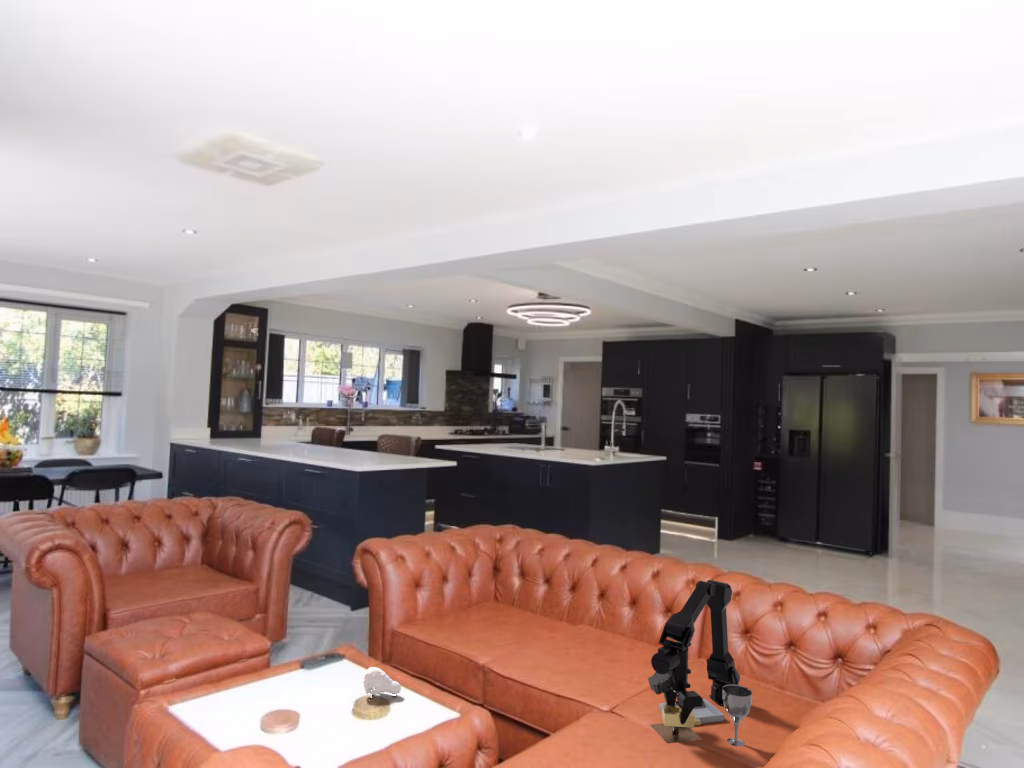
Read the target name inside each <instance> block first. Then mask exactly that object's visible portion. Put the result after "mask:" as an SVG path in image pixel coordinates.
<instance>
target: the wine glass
mask: <svg viewBox="0 0 1024 768" xmlns="http://www.w3.org/2000/svg"><path fill="white" fill-rule="evenodd" d="M722 694H723V704H724V705H723V708H724V710H725V711H726V713H727V714H728V716H729V717H730V719H731V720H732V722H733V727H734V737H731V738H728V739H726V743H728V744H729V745H731V746H733V747H736V748H737V747H738V748H739V747H744V746H745V744H746V743H745V742H744V741H743V740H742V739H740V738H738V735H739V734H738V732H739V731H738V730H739V726H740V723H741V721H742V720H743V719H745V718H746V717H747V716H748V715H749V713H750V711H751V708H752V701H753V692H752V690H751V689H750V688H748V687H746V686H743V685H742V684H741V685H734V684H730V685H725V686H724V687H723V692H722Z"/></svg>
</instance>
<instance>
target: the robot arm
mask: <svg viewBox="0 0 1024 768" xmlns="http://www.w3.org/2000/svg"><path fill="white" fill-rule="evenodd" d="M732 595H733V589H732V587H731V585H730V584H728V583H726V582H722V581H718V580H714V579H707V581H704V580H698V581H696V582H695V588H694V589H693V591H692V593H691V594H690V595H689V597H688V598H687V600H686V602H685V604H684V605H683V606H682V608H681V609H680V611H678V612H675V613H673V614H672V615H671V616H670V617H669V618H668V619H667V621H666V622H665V623H664V626H663V629H662V632H661V635H660V638H659V641H658V645H662V647H658V649H657V652H656V653H654V654H653V655H652V656H651V659H650V664H651V667H652V669H653V670H654V674H653V675H651V676H649V677H648V678H647V680H648V684H649V687H650V690H651V691H653V692H654V693H655V694H656V695H661V694H663V696H664V700H665V703H666V704H667V705H674V706H675V703H676V704H677V705H678V706H679V714H680V723H681V724H685V722H686V720H687V719H688V717H689V715H690V713H691V712H692V710H693V709H694V707H701V706H703V699H704V698H703V697H702V696H701V695H700V694H699V693H697V691H695V690H687V689H691V683H690V682H689V681H688V675H690V674H691V671H692V670H691V669H690V668H689V647H691V646H692V640H693V637H694V634H695V631H696V628H695V623H696V621H697V620H698V618H699V616H700V614H701V613H702V611H703V609H704V608H705V607H706V606H708V608H709V610H710V612H709V613H710V630H711V647H712V649H711V650H712V651H711V654H710V655H709V657H708V658H707V659H706V672H707V678H708V680H710V681H712V684H711V686H710V690H711V691H710V695H708V696H709V698H710V699H711V700H712V701H714V702H716V704H718V705H719V706H724V704H723V694H722V692H723V687H724V686H725V685H730V684H734V685H739V684H740V679H741V675H740V674H739V672H738V670H737V668H736V666H735V659H734V657H732V655H731V653H730V652H729V640H728V638H729V636H728V623H727V621H728V620H727V607H728V606H729V605H730V603H731V602H732ZM667 638H668V639H667Z"/></svg>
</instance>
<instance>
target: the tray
mask: <svg viewBox="0 0 1024 768" xmlns="http://www.w3.org/2000/svg"><path fill="white" fill-rule="evenodd" d="M662 705H667V704H666V702H661V703H658V710H659V712H660V713H662ZM675 706H678V705H677V704H676V703H675ZM693 712H694V715H695V718H697V719H700V725H701V724H707V723H708V724H709V723H717V722H724V721H725V714H724V713H723V712H722V711H720V710H719V709H718V708H717V707H716V706H714V705H713V704H712V703H711V702H709V701H708V700H707V699H706V698H703V706H701V707H694V709H693Z"/></svg>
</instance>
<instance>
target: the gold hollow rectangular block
mask: <svg viewBox="0 0 1024 768" xmlns="http://www.w3.org/2000/svg"><path fill="white" fill-rule="evenodd" d="M661 718H662V722H663V723H664V725H665V726H677V727H690V728H691V729H694V728H695V726H701V724H700V719H697V718H695V715H694V712H693V710H692V712H691V713H690V715H689V717H688V719H687V720H686V722H685V724H681V723H680V714H679V706H674V705H662V712H661Z"/></svg>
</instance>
